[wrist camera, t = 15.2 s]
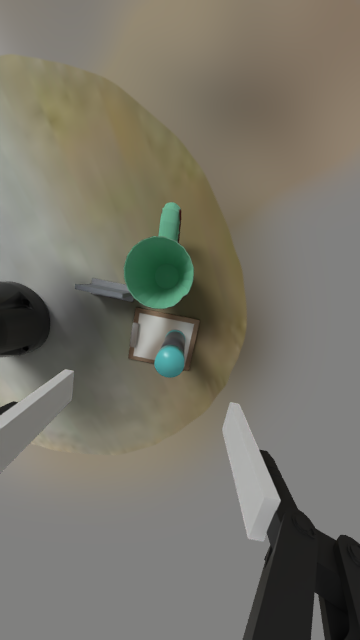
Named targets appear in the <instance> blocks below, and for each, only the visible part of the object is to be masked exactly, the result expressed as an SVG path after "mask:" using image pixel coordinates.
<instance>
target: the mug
mask: <svg viewBox="0 0 360 640" xmlns="http://www.w3.org/2000/svg"><path fill="white" fill-rule="evenodd" d="M180 226H181V209H180V207H179V206H178V205H177V204H176V203H167V204H166V205H164V207H163V209H162V213H161V220H160V228H159V236H152V237H149V238H146V239H143V240H141V241H140V242H139V243H137V244H136V245H135V246H134V247H133V248H132V249H131V251H130V252H129V254H128V255H127V257H126V261H125V265H124V280H125V283H126V286H127V289H128V290H129V292H130V293H131V295H132V296H133V297H134V299H136V300H137V301H138V302H140V303H141V304H142V305H144V306H147V307H150V308H153V309H166V308H169V307H173V306H175V305H176V304H177V303H179V302H180V301H181V300H182V299H183V297H185V296H186V295H187V294H188V293H189V291H190V289H191V286H192V283H193V278H194V268H193V264H192V260H191V257H190V256H189V254H188V253H187V251H186V250H185V248H184V247H183V246H181V245H180V244H179V236H180Z"/></svg>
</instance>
